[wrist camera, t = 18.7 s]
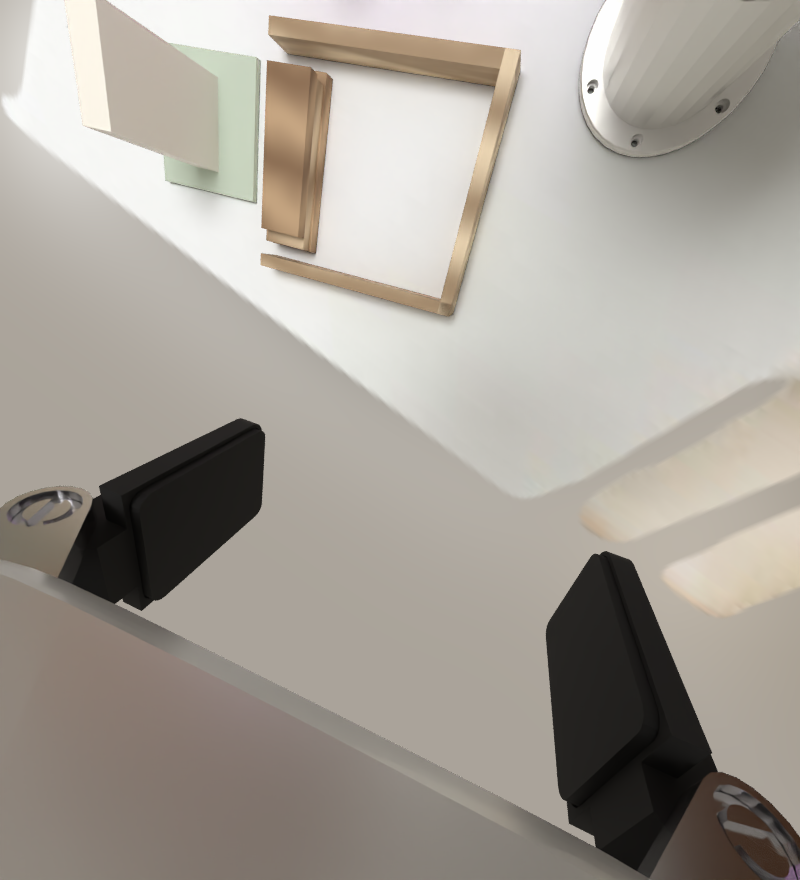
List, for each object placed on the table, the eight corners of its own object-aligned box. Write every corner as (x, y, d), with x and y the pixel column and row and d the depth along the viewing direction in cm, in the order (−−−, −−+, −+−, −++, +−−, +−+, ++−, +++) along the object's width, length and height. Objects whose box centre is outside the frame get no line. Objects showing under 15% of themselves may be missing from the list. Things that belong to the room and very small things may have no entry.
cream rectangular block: (193, 73, 36) (62, -13, 26) (217, 77, 36) (94, -8, 25) (196, 166, 40) (82, 125, 30) (218, 172, 40) (111, 132, 29)
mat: (160, 44, 37) (155, 40, 36) (260, 60, 35) (256, 57, 34) (169, 181, 42) (165, 180, 42) (256, 202, 40) (252, 201, 40)
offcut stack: (288, 72, 35) (265, 50, 31) (332, 79, 34) (313, 58, 31) (279, 243, 41) (259, 240, 38) (315, 252, 41) (298, 250, 37)
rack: (288, 36, 33) (268, 15, 31) (520, 70, 30) (520, 50, 27) (276, 266, 43) (260, 264, 40) (452, 314, 39) (448, 316, 36)
